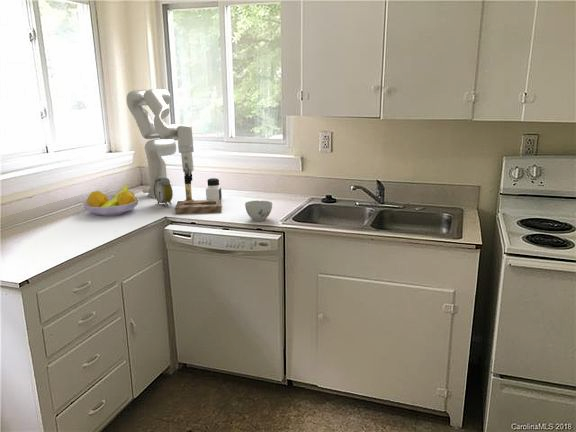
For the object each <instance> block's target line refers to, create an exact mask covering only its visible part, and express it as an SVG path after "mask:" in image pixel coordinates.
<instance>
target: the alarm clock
mask: <svg viewBox="0 0 576 432" xmlns="http://www.w3.org/2000/svg"><path fill="white" fill-rule="evenodd" d="M154 195H155V198H154V199H155V200H156V201H157V205H159V204H164V206H165V208H168V204H170V205H172V202H171V201H172V200H173V196H174V194H173V188H172V185H171V180H170V179H169V178H168V177H167V178H163V177H162V176H158V177H156V179H155V184H154Z"/></svg>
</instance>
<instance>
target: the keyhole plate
mask: <svg viewBox="0 0 576 432" xmlns="http://www.w3.org/2000/svg"><path fill="white" fill-rule="evenodd" d="M174 210H175V215H190V214H193V213H194V214H212V213H213V214H214V213H218V214H219V213H222V199H221V200H206V199H200V200H195V199H194V201H184V200H178V201H177V202H176V205H175V207H174Z"/></svg>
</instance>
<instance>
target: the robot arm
mask: <svg viewBox="0 0 576 432" xmlns="http://www.w3.org/2000/svg"><path fill="white" fill-rule="evenodd" d="M125 99H126V106H127V108H128V111H129V112H130V113H131V115H132V117H133V118H134V120H135V122H136V126H137V127H138V130H139V133H140V134H141V136H142V138H143V139H145V140H147V141H146V142H145V144H144V152H145V155H146V159H147V167H148V180H149V188H142V189H141V190H142V194H143V193H144V194H147V197H148V198H152V199H156V198H155V195H154V184H155V179H156V177H158V176H162V177H163V178H168V177H167V176H168V175H167V165H166V162H165V160H164V159H163V157H167V156H172V155H174V154H175V153H176V151H177V146H178V153H179V154H180V155H181V166H182V171H183V174H184V177H183V179H184V185H185V184H191V185H192V181H193V171H194V161H193V153H194V139H193V129H192V128H193V127H192V126H191V125H190V124H182V123H177V124H176V123H175V124H173V123H172V124H167V123H166V122H165V121H163V120H164V119H166V117H168V116H169V115H170V112H171V109H170V107H169V106H168V105H169V104H170V103H171V100H172V97H171V94H170V92H169V91H168V90H167V89H164V88H151V89H135V90H131V91H128V93H127V95H126V98H125ZM143 106H144V107H145V106H148V108H149V109H150V110H151V112H152V113H153V116H154V118H153V119H152V117H151V114H150V112H149V111H148V110H146V108H144V107H143ZM175 140H177V144H176V142H175Z"/></svg>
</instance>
